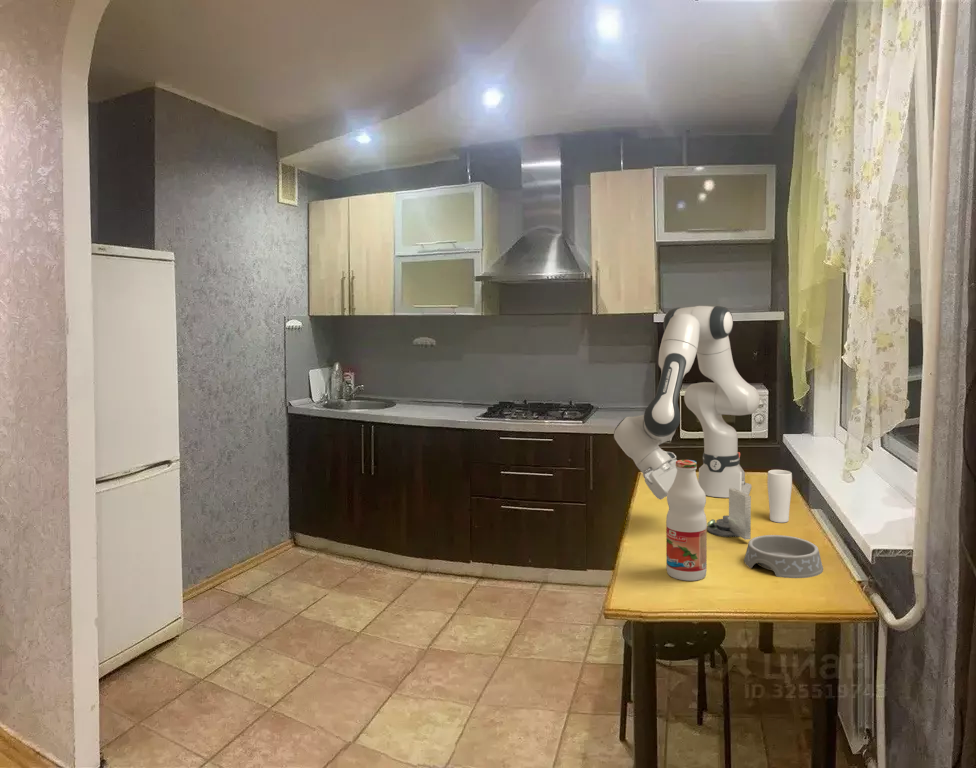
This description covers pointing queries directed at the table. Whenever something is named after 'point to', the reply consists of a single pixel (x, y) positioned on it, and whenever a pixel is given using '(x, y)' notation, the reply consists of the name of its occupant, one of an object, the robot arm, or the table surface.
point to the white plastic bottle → (686, 525)
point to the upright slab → (737, 514)
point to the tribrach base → (719, 530)
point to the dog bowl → (784, 556)
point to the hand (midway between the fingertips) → (687, 501)
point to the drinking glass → (779, 494)
